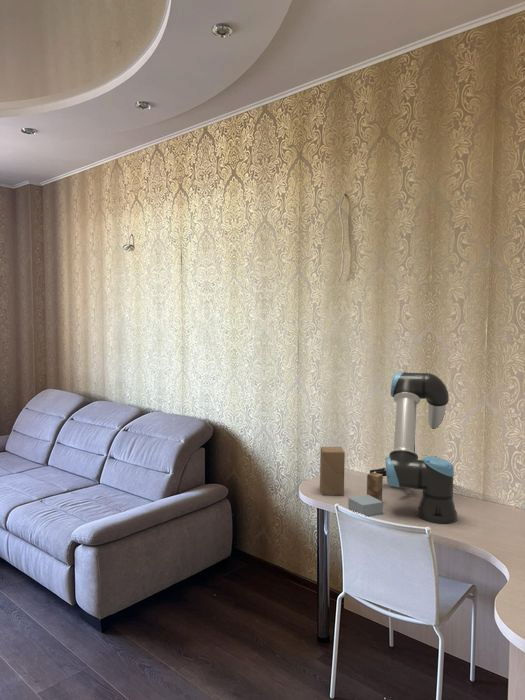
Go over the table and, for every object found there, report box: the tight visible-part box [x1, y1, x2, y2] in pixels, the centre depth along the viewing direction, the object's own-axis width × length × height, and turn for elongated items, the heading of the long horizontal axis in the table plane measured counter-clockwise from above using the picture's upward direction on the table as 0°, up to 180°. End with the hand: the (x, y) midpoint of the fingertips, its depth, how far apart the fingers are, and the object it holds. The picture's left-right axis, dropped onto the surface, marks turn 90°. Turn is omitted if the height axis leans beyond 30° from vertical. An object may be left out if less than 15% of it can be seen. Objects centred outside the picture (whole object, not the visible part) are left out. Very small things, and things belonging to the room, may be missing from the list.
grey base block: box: [347, 494, 384, 517], centre depth 210 cm, size 10×10×5 cm
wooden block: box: [319, 446, 346, 496], centre depth 233 cm, size 10×10×20 cm
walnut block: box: [366, 472, 384, 502], centre depth 221 cm, size 5×5×12 cm
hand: (383, 480), depth 228 cm, fingers open, 13 cm apart
